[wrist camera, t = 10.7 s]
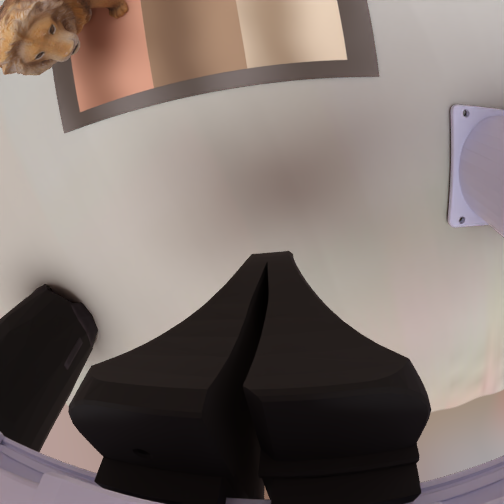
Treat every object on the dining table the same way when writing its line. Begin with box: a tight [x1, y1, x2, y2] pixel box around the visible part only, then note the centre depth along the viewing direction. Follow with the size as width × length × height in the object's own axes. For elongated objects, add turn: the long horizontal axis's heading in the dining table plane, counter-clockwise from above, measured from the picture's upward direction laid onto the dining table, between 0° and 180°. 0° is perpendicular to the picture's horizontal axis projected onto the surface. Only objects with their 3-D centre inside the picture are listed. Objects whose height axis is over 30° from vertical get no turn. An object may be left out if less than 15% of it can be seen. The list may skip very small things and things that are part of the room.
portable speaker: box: [0, 285, 98, 452], centre depth 18 cm, size 9×9×20 cm
